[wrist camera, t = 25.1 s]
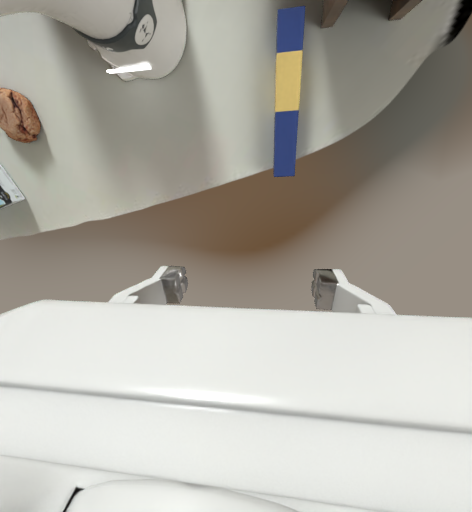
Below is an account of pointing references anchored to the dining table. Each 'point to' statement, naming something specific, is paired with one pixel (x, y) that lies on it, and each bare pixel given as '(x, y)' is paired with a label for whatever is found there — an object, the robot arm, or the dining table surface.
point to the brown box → (335, 3)
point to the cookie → (18, 116)
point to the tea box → (8, 190)
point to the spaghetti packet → (287, 87)
